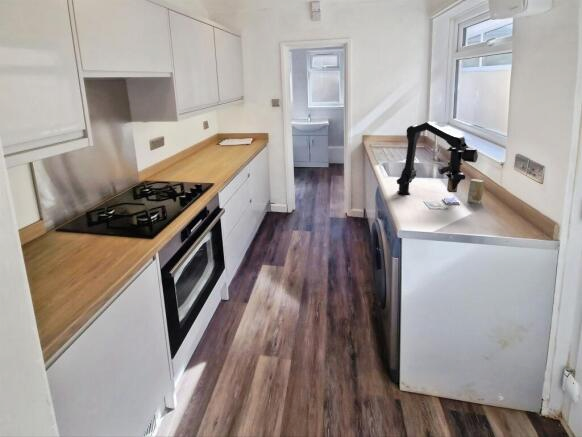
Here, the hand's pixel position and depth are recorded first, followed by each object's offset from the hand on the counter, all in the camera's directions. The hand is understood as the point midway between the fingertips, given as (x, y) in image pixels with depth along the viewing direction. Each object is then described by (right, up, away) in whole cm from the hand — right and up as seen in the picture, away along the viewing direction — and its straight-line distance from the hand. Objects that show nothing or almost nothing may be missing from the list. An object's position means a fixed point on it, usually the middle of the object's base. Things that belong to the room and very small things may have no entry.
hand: (452, 188), depth 226 cm
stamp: (0, -1, +1) cm, 2 cm away
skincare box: (+13, -7, +3) cm, 15 cm away
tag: (-10, -9, -3) cm, 14 cm away
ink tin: (0, -7, +2) cm, 8 cm away
